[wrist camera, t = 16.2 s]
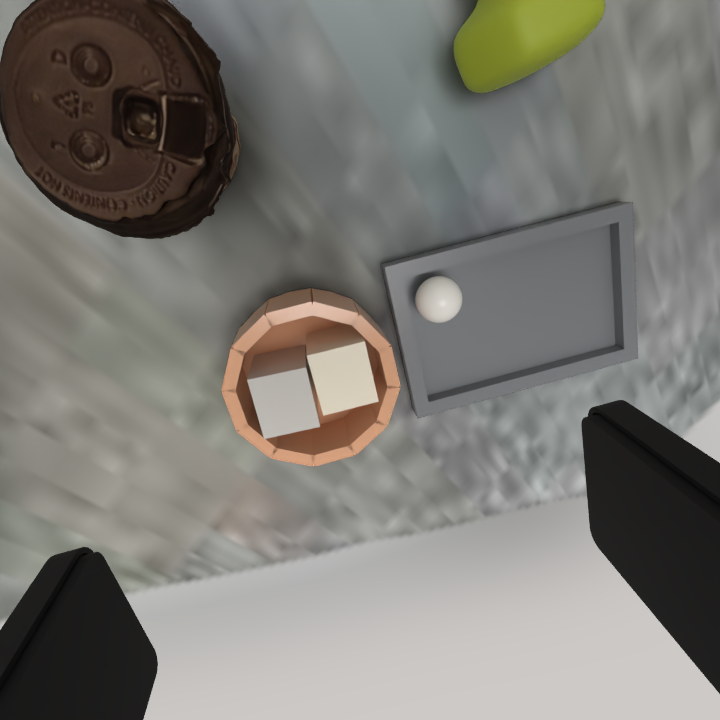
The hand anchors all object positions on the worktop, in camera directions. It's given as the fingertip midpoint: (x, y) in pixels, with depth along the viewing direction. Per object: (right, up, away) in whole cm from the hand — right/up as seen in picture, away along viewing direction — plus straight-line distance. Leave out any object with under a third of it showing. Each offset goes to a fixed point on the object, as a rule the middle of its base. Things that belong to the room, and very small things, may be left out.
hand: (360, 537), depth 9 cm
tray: (+11, +7, +25) cm, 28 cm away
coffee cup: (-10, +16, +19) cm, 27 cm away
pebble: (+5, +8, +23) cm, 25 cm away
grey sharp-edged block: (-5, +2, +24) cm, 25 cm away
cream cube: (-1, +4, +24) cm, 24 cm away
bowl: (-3, +3, +24) cm, 25 cm away
